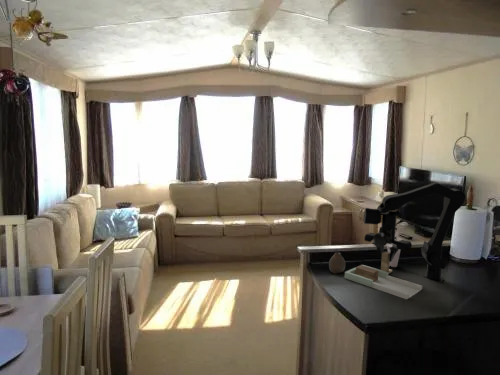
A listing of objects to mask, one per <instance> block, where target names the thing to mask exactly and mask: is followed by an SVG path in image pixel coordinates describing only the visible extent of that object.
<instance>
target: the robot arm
mask: <svg viewBox="0 0 500 375" xmlns="http://www.w3.org/2000/svg"><path fill="white" fill-rule="evenodd" d="M433 194H438V195H440V196H442V197H444V198H443V209H442V212H441V214H440V216H439V219H438V221H437V223H436V226H435V228H434V231H433V233H432V236H431V238H430V239H429V240H428V241H425V240H424V241H423V243H422V247H421V248H420V250H421V255H422V257H423V258H424V259H425V261H426V262H427V264H426V265H427V266H426V274H425V276H423V278H424V279H428V280H431V281H435V282H438V283H441V282H442V281H443V280H445V277H442V275H443V270H445V268H446V266H447V264H446V263H445V261H444V260H443V259H442V253H443V243H444V240H445V238H446V235H447V233H448V231H449V228H450V226H451V223H452V221H453V218H454V216H455V214H456V213H457V211H458V210H459V209H461V207H463V205H464V202H465V201H466V198H467V196H466V194H465V192H464V191H462V190H460V189H457V188H452V187H451V188H448V187H445V186H443V185H441V184H440V183H438V182H434V181H433V182H431V183H429V184H426V185H424V186H420V187H417V188H414V189H410V190H408V191H405V192H403V193H393V194H388V195H385V196H383V199H382V202H381V203H380V204H379V205H378V206H377V208H369V207H365V208H364V212H363V220H362V221H363V224H365V225H379V224H380V223H381V226H380V227H379V231H378V232H377V233H374V232H368V233H366V234H365V235H364V238H363V239H364V241H365V242H369V243H371V242H372V243H371V244H372V245H373V246H375V248H376V250H377V253H378V256H379V259H380V260H382V252H385V250H384V249H385V247H386V246H387V244H392V247H390V250H391V251H390V258H389V262H391V261H392V259H393V258H394V256H395V254H396V252H397V251H398V250H399V249H400V251H401V250H402V251H409V250H410V249H412V245H413V244H412V242H411V241H409V240H405V239H401V240H399V241H398V240H397V241H395V240H396V237H397V236H396V231H397V229H398V227H397V218H398V217H402V216H403V214H402V213H401V212H400V211H399V209H401V208H402V207H403V206H405V205H406V204H408V203H410V202H413V201H416V200H419V199H421V198H425V197H428V196H432V195H433Z"/></svg>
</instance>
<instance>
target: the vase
mask: <svg viewBox="0 0 500 375" xmlns="http://www.w3.org/2000/svg"><path fill="white" fill-rule="evenodd" d="M328 268H329V270H330V272H331V273H333V274H334V275H335V274H338V273H339V274H340V273H344V272H345V269H346V260H345V259H344V257H343V256H342V253H341V252H335V253H334V254H333V255H332V256H331V258H330V259H329V262H328Z"/></svg>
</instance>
